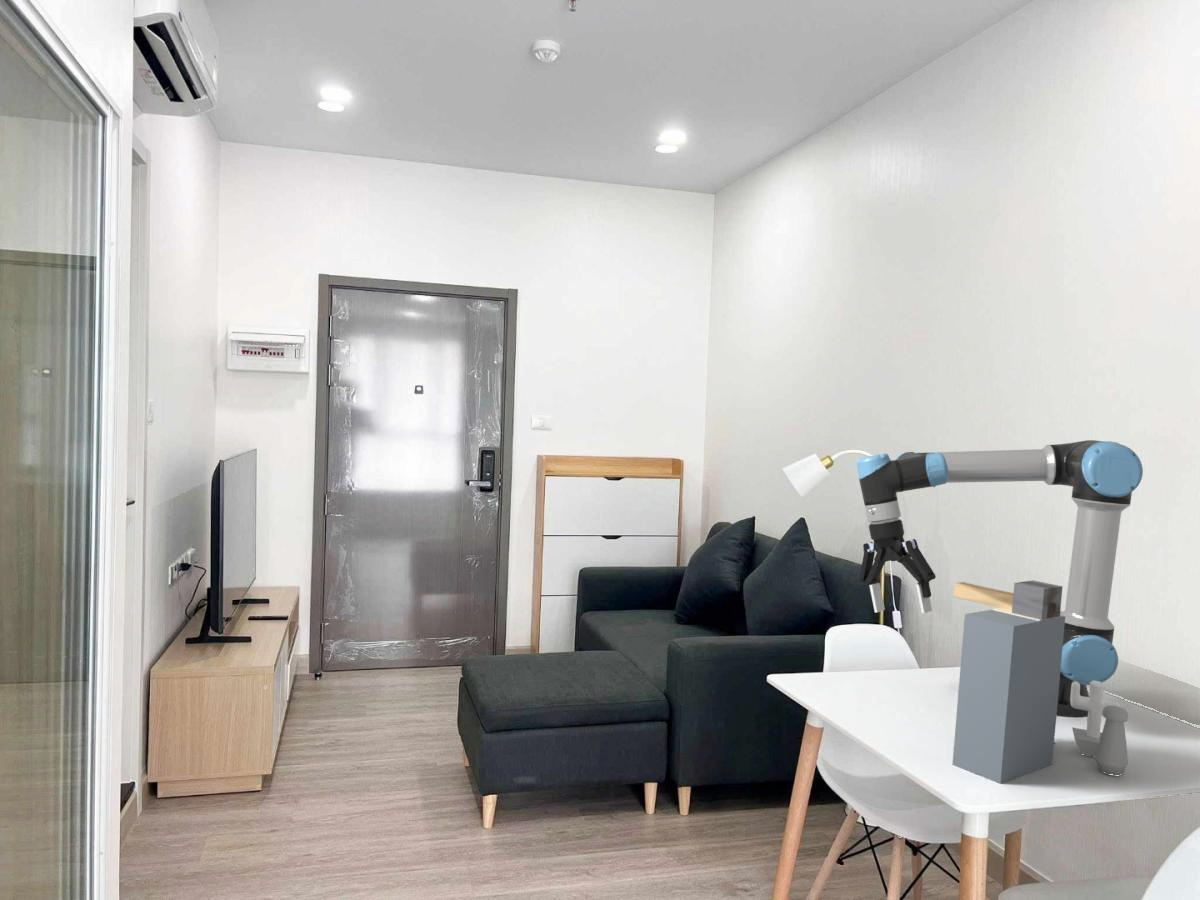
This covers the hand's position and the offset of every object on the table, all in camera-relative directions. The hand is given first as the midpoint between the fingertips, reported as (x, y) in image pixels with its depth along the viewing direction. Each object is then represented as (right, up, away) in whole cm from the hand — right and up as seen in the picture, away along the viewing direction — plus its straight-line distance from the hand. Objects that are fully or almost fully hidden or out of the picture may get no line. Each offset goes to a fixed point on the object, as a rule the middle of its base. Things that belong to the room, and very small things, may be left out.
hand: (902, 611), depth 210 cm
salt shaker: (+31, -27, -30) cm, 51 cm away
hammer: (+12, +5, -25) cm, 28 cm away
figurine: (+32, -26, -20) cm, 46 cm away
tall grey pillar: (+10, -25, -30) cm, 40 cm away
